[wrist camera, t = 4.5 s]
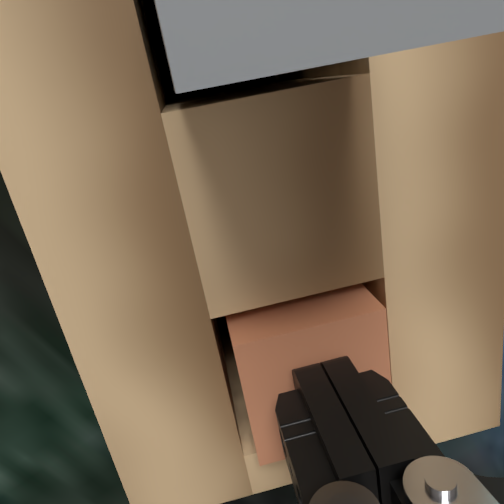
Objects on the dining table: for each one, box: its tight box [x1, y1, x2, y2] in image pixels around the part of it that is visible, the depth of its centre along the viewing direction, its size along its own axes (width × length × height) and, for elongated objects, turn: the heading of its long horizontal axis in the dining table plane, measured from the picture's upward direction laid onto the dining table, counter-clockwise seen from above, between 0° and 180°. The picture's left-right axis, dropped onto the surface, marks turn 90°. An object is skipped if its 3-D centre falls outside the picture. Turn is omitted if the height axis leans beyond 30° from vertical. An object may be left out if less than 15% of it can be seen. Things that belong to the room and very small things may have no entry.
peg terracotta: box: [226, 283, 391, 466], centre depth 16 cm, size 4×4×8 cm
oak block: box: [0, 0, 504, 504], centre depth 15 cm, size 12×18×10 cm, turn 10°
